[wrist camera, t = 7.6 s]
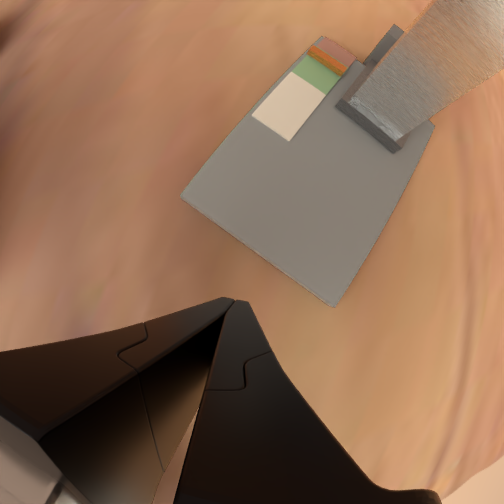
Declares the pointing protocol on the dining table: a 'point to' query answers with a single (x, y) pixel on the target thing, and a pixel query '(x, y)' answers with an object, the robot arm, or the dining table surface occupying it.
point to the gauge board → (308, 175)
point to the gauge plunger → (424, 68)
